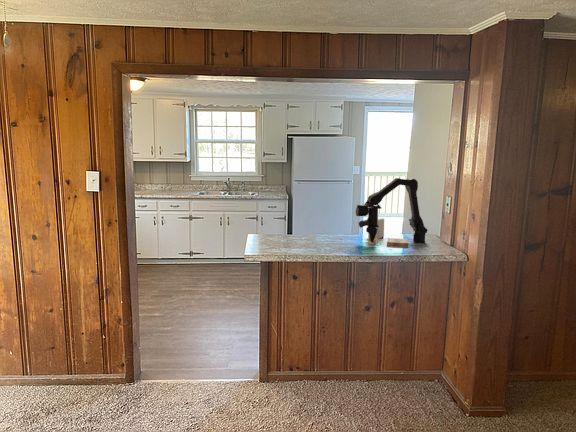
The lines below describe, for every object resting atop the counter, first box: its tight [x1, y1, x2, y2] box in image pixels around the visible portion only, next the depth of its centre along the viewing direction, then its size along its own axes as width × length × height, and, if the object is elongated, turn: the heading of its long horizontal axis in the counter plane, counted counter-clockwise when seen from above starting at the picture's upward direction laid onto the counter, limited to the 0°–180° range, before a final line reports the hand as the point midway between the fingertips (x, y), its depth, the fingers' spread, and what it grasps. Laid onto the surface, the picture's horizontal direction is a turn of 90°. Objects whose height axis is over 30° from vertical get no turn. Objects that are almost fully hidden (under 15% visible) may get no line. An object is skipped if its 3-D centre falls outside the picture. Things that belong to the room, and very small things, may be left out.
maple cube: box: [367, 235, 377, 245], centre depth 253 cm, size 4×4×4 cm
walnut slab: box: [386, 237, 409, 248], centre depth 249 cm, size 12×12×3 cm
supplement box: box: [367, 217, 385, 240], centre depth 271 cm, size 7×7×13 cm
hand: (372, 241), depth 253 cm, fingers closed on maple cube, 4 cm apart
